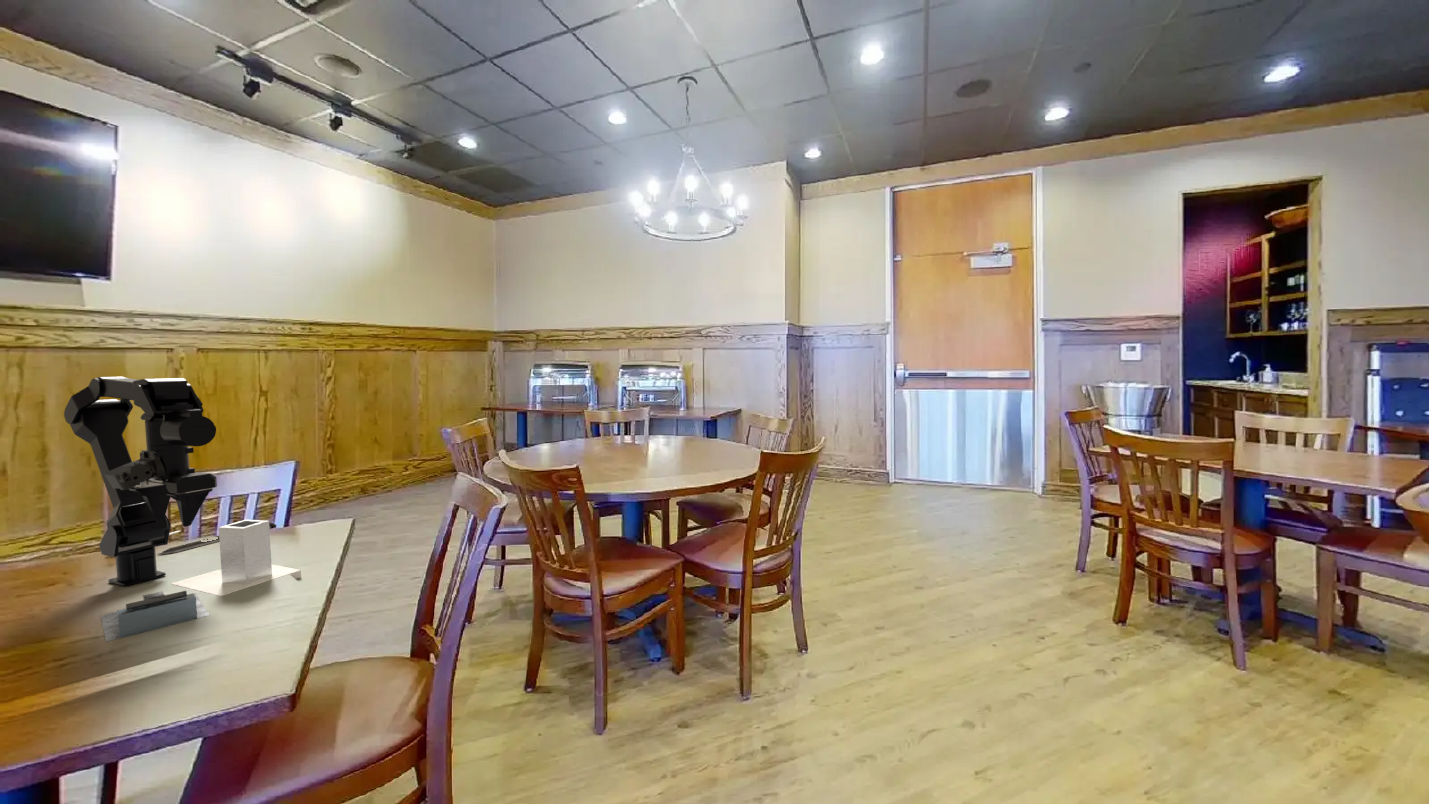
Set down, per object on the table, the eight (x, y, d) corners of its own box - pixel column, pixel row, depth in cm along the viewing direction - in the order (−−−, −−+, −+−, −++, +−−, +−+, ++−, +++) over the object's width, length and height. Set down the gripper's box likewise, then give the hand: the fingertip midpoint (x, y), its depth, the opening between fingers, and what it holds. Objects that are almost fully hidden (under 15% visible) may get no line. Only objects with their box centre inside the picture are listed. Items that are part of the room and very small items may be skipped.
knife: (160, 559, 130) (160, 552, 130) (145, 555, 133) (145, 549, 132) (281, 528, 153) (281, 523, 153) (266, 526, 156) (266, 521, 156)
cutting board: (171, 591, 110) (170, 583, 110) (252, 566, 123) (251, 560, 123) (221, 603, 104) (221, 595, 104) (301, 577, 117) (300, 570, 117)
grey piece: (101, 623, 96) (98, 588, 96) (196, 601, 106) (194, 569, 105) (106, 651, 87) (103, 612, 87) (210, 623, 96) (207, 588, 96)
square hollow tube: (222, 583, 110) (218, 527, 110) (248, 572, 116) (245, 519, 115) (246, 584, 110) (243, 528, 109) (272, 574, 115) (269, 520, 114)
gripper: (83, 447, 105) (89, 530, 106) (139, 452, 98) (146, 541, 99) (160, 439, 116) (165, 515, 117) (216, 444, 109) (221, 524, 110)
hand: (172, 523), depth 110 cm, fingers open, 9 cm apart
